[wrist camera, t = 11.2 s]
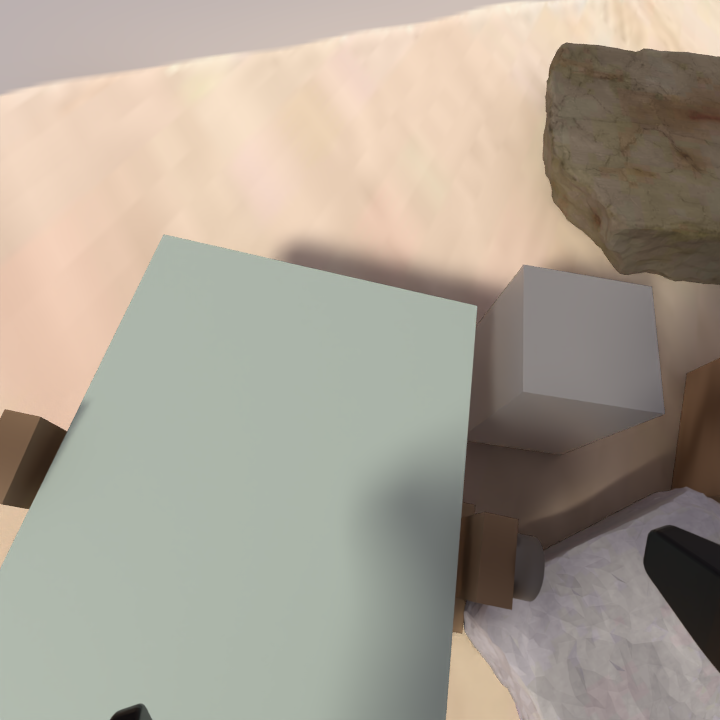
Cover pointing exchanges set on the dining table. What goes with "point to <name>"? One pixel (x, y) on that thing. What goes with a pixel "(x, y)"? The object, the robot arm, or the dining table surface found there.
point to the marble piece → (638, 156)
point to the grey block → (564, 362)
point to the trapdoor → (249, 505)
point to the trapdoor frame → (476, 544)
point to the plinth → (700, 433)
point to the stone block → (604, 626)
